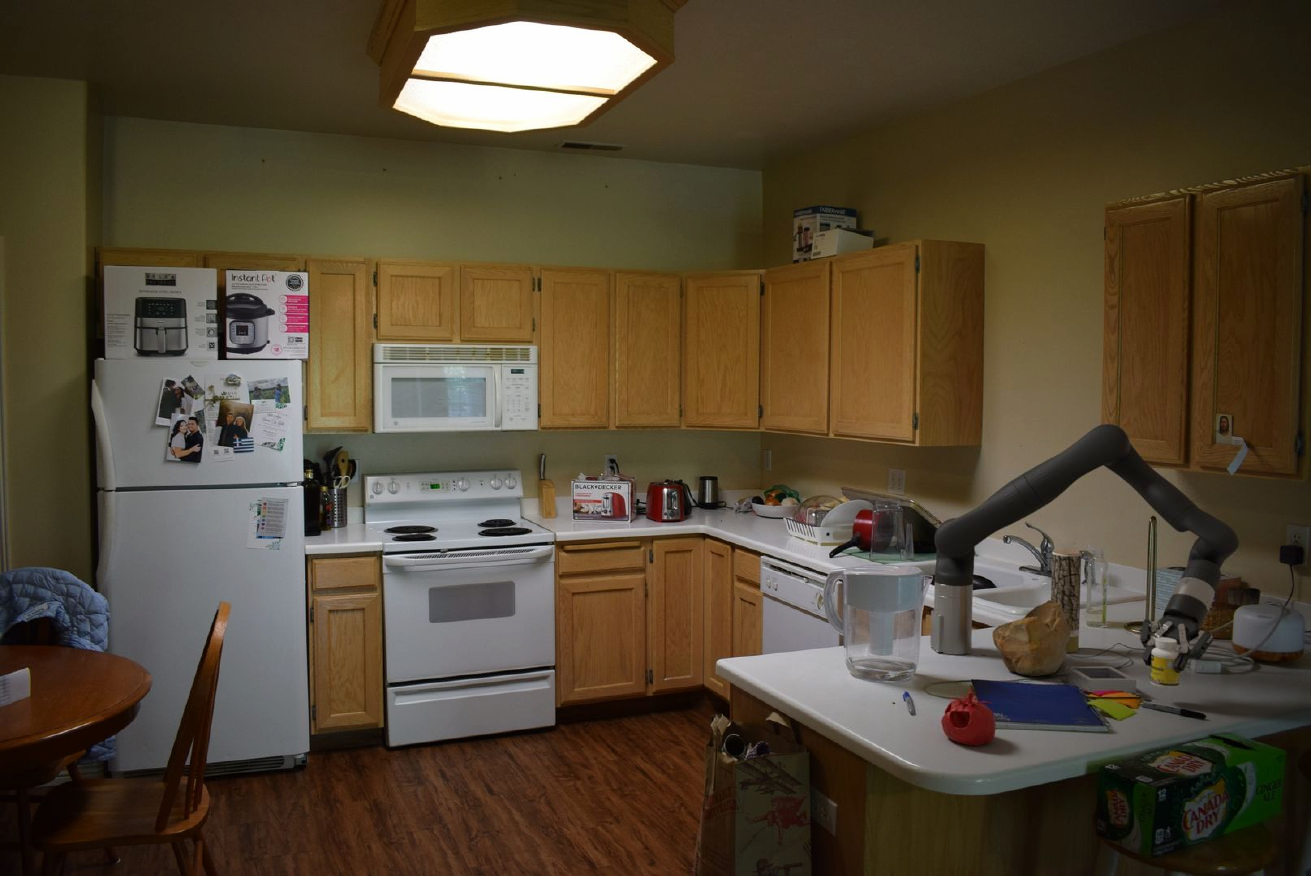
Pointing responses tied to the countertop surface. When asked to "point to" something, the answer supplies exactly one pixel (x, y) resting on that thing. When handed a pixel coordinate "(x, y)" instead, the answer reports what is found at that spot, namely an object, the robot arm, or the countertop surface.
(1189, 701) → the countertop surface
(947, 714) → the pomegranate
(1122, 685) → the shallow grey tray
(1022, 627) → the rough brown rock
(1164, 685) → the supplement bottle
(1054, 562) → the brown bark log
